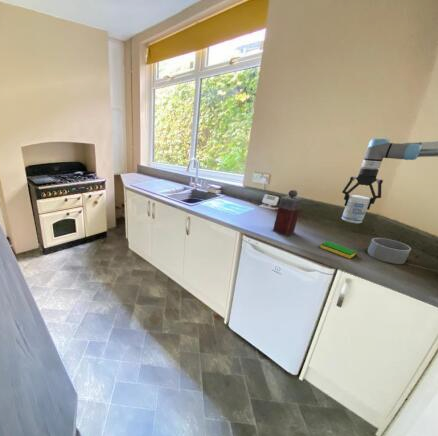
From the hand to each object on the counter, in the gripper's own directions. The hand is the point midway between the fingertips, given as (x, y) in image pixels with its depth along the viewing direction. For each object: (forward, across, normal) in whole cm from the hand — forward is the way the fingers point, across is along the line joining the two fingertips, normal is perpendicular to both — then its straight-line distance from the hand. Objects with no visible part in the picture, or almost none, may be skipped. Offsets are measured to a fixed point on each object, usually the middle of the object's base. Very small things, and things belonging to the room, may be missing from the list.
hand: (356, 207), depth 137 cm
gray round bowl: (+20, +17, -14) cm, 30 cm away
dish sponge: (+20, -3, -24) cm, 32 cm away
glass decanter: (+21, -31, -14) cm, 40 cm away
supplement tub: (+9, 0, 0) cm, 9 cm away
